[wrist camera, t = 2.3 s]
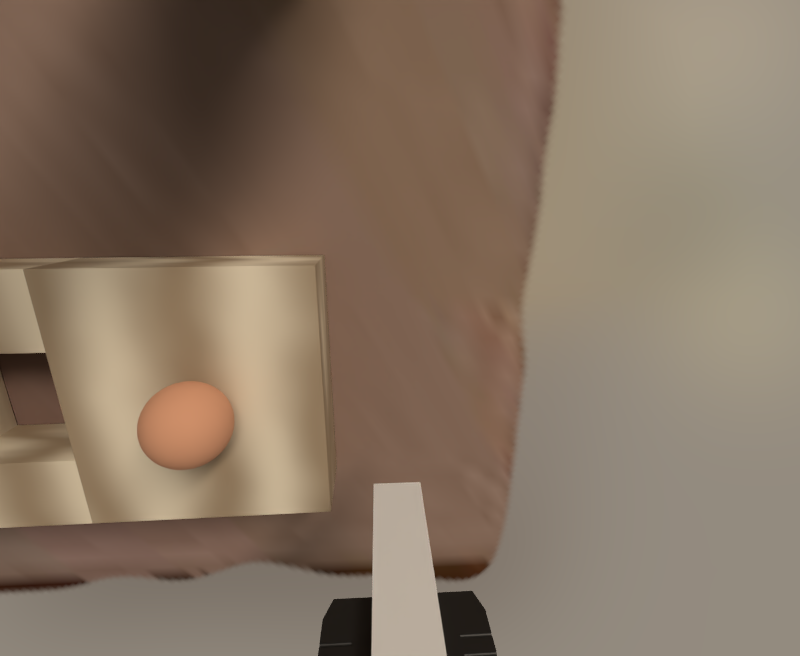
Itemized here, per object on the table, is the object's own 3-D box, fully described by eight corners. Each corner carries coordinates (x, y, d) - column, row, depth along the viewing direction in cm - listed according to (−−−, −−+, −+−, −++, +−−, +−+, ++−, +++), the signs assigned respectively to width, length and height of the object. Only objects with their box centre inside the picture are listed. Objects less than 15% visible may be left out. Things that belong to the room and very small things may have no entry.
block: (-16, 483, 26) (-83, 532, 22) (-95, 259, 22) (-195, 272, 18) (336, 467, 27) (330, 511, 23) (324, 255, 23) (314, 265, 19)
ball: (171, 439, 21) (127, 491, 18) (157, 368, 20) (107, 407, 16) (249, 437, 22) (222, 487, 18) (240, 366, 20) (210, 404, 17)
